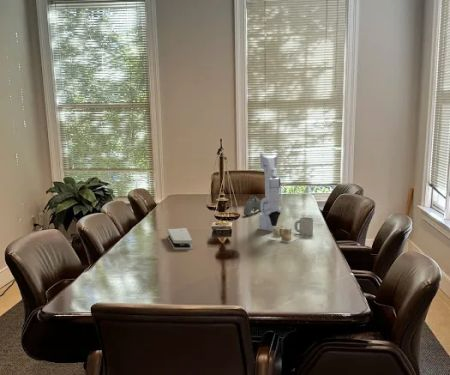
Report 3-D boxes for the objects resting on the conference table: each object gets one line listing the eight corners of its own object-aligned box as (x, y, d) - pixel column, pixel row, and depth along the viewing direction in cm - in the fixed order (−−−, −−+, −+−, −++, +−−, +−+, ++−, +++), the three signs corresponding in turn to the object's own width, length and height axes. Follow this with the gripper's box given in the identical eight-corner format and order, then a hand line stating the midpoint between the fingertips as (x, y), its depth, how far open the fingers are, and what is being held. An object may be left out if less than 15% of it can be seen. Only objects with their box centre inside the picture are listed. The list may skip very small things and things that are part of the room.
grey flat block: (193, 250, 209) (192, 240, 209) (170, 251, 207) (170, 241, 207) (187, 236, 235) (187, 228, 234) (167, 238, 233) (167, 229, 232)
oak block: (281, 240, 222) (281, 228, 221) (284, 238, 225) (284, 227, 225) (288, 240, 220) (288, 229, 219) (291, 239, 224) (291, 227, 223)
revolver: (262, 223, 298) (266, 202, 302) (248, 214, 280) (253, 192, 284) (255, 222, 301) (260, 202, 304) (241, 213, 283) (246, 192, 286)
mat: (259, 238, 228) (259, 237, 228) (274, 232, 241) (274, 231, 241) (289, 243, 217) (289, 242, 217) (303, 236, 230) (303, 235, 230)
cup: (312, 236, 230) (312, 220, 229) (293, 235, 232) (294, 219, 231) (312, 233, 237) (313, 217, 236) (294, 232, 239) (294, 216, 238)
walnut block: (272, 228, 231) (279, 225, 236) (272, 235, 231) (279, 232, 237) (279, 229, 228) (286, 226, 234) (279, 236, 229) (286, 233, 235)
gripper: (273, 203, 217) (273, 229, 219) (287, 199, 229) (287, 224, 231) (261, 201, 221) (261, 227, 223) (275, 198, 233) (275, 222, 235)
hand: (273, 225), depth 227 cm, fingers closed
